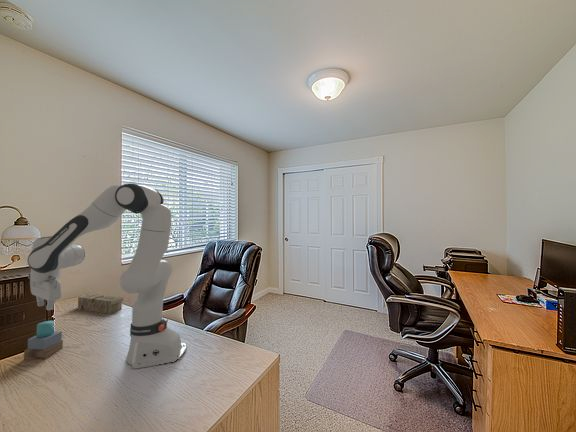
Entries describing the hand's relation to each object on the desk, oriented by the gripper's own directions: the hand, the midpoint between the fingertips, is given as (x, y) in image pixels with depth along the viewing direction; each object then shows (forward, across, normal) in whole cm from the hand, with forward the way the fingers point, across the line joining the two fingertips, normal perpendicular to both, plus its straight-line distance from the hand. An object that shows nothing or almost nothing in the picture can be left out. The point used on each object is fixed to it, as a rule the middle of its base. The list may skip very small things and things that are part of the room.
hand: (45, 307), depth 99 cm
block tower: (+19, +38, -36) cm, 56 cm away
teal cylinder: (+12, 0, 0) cm, 12 cm away
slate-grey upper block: (+15, 0, 0) cm, 16 cm away
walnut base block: (+20, 0, 0) cm, 20 cm away
